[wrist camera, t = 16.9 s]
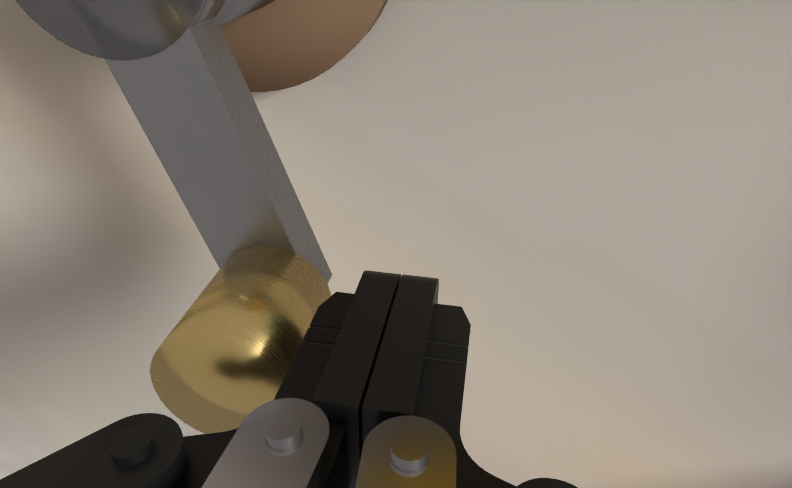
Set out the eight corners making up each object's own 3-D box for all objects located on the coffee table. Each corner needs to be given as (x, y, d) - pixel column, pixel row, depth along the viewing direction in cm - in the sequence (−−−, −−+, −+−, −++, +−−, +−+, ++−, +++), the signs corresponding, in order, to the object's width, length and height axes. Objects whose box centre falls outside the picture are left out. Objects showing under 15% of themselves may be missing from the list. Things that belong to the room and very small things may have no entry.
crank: (-28, -155, 11) (-301, -184, 7) (163, -263, 9) (-53, -364, 6) (241, 324, 16) (162, 450, 12) (388, 298, 15) (350, 430, 11)
